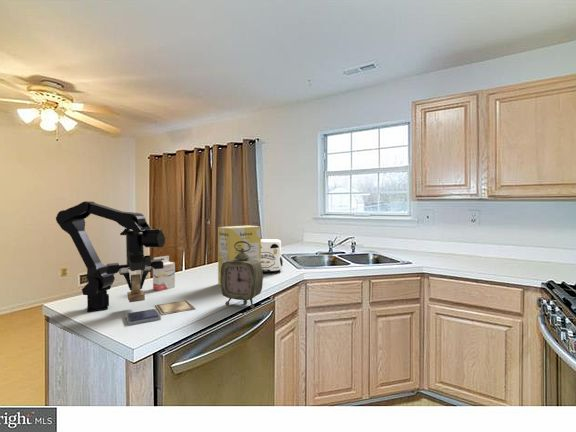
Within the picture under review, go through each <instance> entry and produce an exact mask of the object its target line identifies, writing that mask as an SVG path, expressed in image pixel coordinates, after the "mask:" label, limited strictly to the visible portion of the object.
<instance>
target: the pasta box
mask: <svg viewBox="0 0 576 432" xmlns="http://www.w3.org/2000/svg"><path fill="white" fill-rule="evenodd" d="M261 227H262V226H261V225H260V226H259V225H258V226H257V225H234V226H232V225H231V226H218V227H217V267H218V269H217V271H218V272H217V273H218V276H217V277H218V278H217V279H218V280H217V281H218V282H217V283H218V285H219V284H220V286H221V280H220V278H221V267H222V264H223V263H225V262H227V261H230V260H233V259H236V256H237V254H239V253H241V252H239V251H237V250H236V249H238V250H241V248H243V249H244V250H248V249H249V248H250V247H249V245H248V244H246V243H238V244H236V246H235V247H236V249H235V248H234V245H235V243H236V242H238V241H245V242H248V243H249V244H250V246H251V248H250V250H249V251H247V252H244V253H246V254H247V255H248V256H249V259H254V260H258V261H259V262H260V263H261V239H262V238H261V237H262V228H261Z"/></svg>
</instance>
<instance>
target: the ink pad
mask: <svg viewBox="0 0 576 432" xmlns="http://www.w3.org/2000/svg"><path fill="white" fill-rule="evenodd" d="M161 316H162V315H161V314H160V312H159V310H158V309H157V308H153V309H147V310H146V309H145V310H140V311H134V312H133V311H132V312H128V313H125V320H126V324H127V325H128V326H133V325H138V324H144V323H150V322H154V321H161V320H162V317H161Z"/></svg>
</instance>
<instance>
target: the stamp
mask: <svg viewBox="0 0 576 432" xmlns="http://www.w3.org/2000/svg"><path fill="white" fill-rule="evenodd" d="M140 278H141V273H140V274H139V273H135V274H130V282H131V290H130V291H128V292H127V293H126V294H127V299H128V302H129V303H135V302H136V303H137V302H141V301H145V300H146V299H145V297H146V296H145V293H144V291H143V290H142V289H141V283H140Z"/></svg>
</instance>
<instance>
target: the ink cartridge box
mask: <svg viewBox="0 0 576 432" xmlns="http://www.w3.org/2000/svg"><path fill="white" fill-rule="evenodd" d="M156 259H160V260H161V261H162V262H163V268H162V269H154V268H153V267H152V289H153V290H155V291H158V292H160V291H165V290H168V289H173V288H175V287H176V283H175V282H176V264H175V262H172V261H170V255H163V256H157V257H153V260H156Z"/></svg>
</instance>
